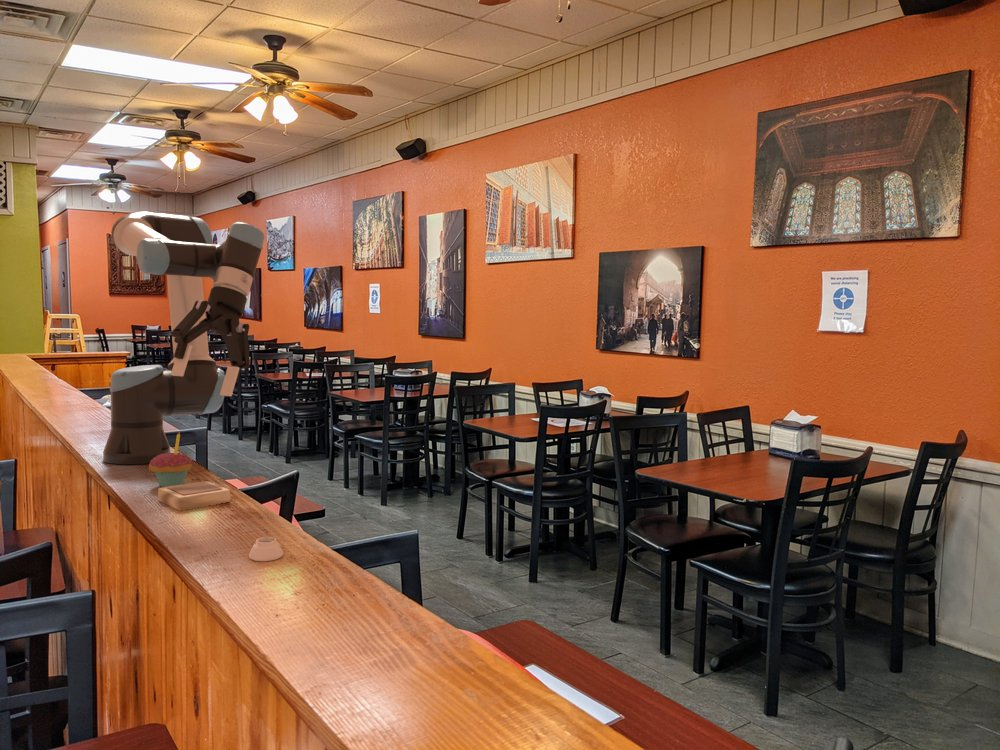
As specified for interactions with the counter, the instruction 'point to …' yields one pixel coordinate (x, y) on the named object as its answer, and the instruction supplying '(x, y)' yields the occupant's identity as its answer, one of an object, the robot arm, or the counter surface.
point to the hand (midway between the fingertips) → (202, 386)
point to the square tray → (193, 495)
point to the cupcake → (171, 467)
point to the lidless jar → (266, 550)
